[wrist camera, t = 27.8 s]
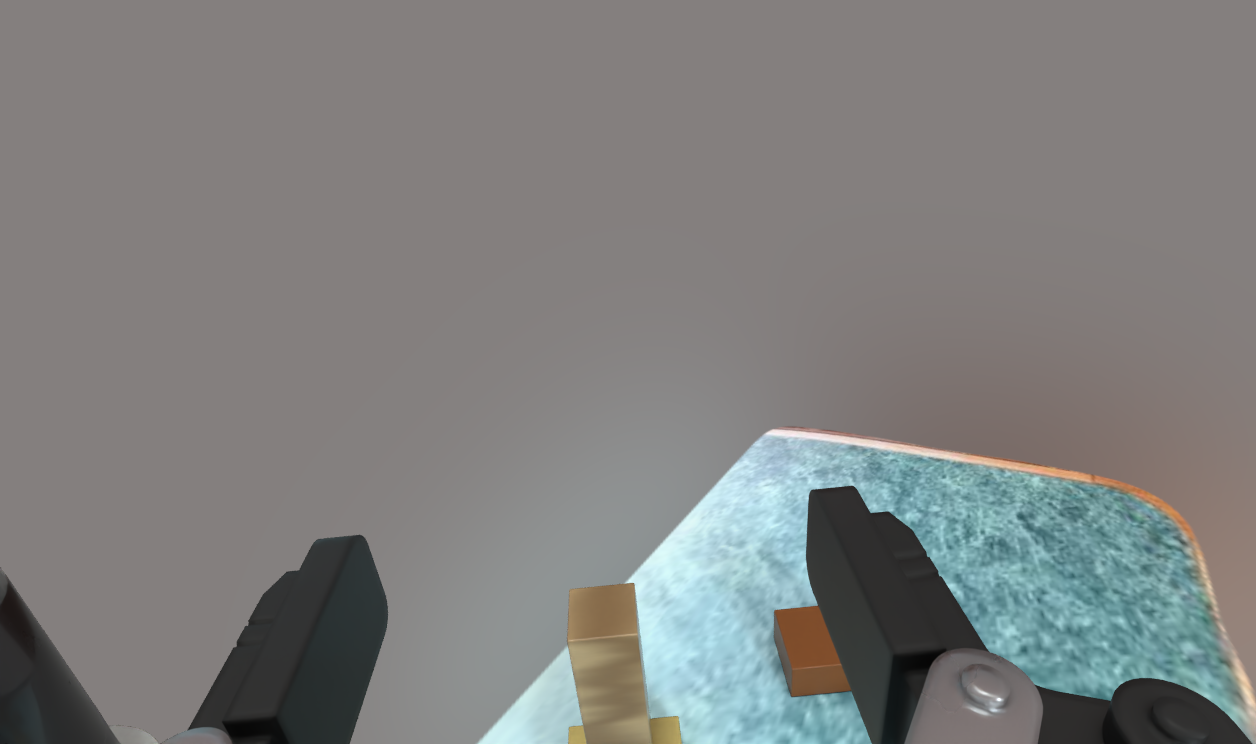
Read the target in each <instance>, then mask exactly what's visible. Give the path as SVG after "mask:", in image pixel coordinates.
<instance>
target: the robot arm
mask: <svg viewBox="0 0 1256 744" xmlns="http://www.w3.org/2000/svg"><path fill="white" fill-rule="evenodd" d="M806 562H807V570H808V576H809V580H810V584H811V588H812V591H813V593H814V596H815V598H816V601H817V604H818V606H819V609H820V611H821V614H822V616H823V619H824V622H825V624H826V627H827V629H828V632H829V634H830V637H831V640H832V642H833V645H834V647H835V650H836V652H837V655H838V658H839V660H840V663H841V665H842V668H843V670H844V673H845V676H846V678H847V681H848V683H849V686H850V688H851V691H852V693H853V696H854V699H855V701H856V704H857V706H858V709H859V711H860V714H861V717H862V719H863V722H864V724H865V727H866V729H867V732H868V735H869V737H870V740H871V742H872V744H1252V743H1251V741H1250V740H1249V739H1248V738H1247V737H1246V735H1245V734H1244V733H1243V732H1242V731H1241V729H1240V728H1239V727H1238V726H1237V725H1236V724H1235V722H1234V721H1233V720H1232V719H1231V718H1230V717H1229V716H1228V715H1227V714H1226V713H1225V712H1224V711H1222V710H1221V709H1220V708H1219V707H1218V706H1216V705H1215V704H1214V703H1212V702H1211V701H1209V700H1208V699H1206V698H1205V697H1203V696H1201V695H1200V694H1198V693H1196V692H1194V691H1192V690H1190V689H1188V688H1186V687H1183V686H1181V685H1178V684H1175V683H1172V682H1168V681H1164V680H1159V679H1152V678H1139V679H1133V680H1129V681H1126V682H1124V683H1123V684H1121V685H1120V686H1119V687H1118V688H1117V689H1116V690H1115V692H1114V694H1113V697H1112V699H1111V701H1108V700H1103V699H1097V698H1091V697H1086V696H1080V695H1074V694H1069V693H1063V692H1058V691H1053V690H1049V689H1046V688H1043V687H1040V686H1037V685H1034V683H1033V682H1032V681H1031V680H1030V678H1029V677H1028V676H1027V675H1026V674H1025V673H1024V672H1023V671H1022V670H1021V669H1019V668H1018V667H1017V666H1015V665H1014V664H1013V663H1011V662H1009V661H1008V660H1006V659H1004V658H1002V657H1000V656H998V655H996V654H993V653H990V652H989V651H988V649H987V648H986V647H985V645H984V644H983V642H982V640H981V639H980V637H979V636H978V634H977V632H976V631H975V629H974V628H973V626H972V624H971V623H970V621H969V620H968V618H967V616H966V615H965V613H964V612H963V610H962V609H961V607H960V605H959V604H958V602H957V601H956V599H955V597H954V596H953V594H952V593H951V591H950V589H949V588H948V586H947V585H946V583H945V581H944V580H943V578H942V577H941V576H940V577H939V574H938V570H937V569H936V567H935V565H934V564H933V562H932V561H931V559H930V557H927V554H926V551H925V549H924V548H923V546H922V545H921V543H920V542H919V540H918V538H917V537H916V535H915V534H914V532H913V530H912V529H910V528H909V527H908V526H906V525H905V524H904V523H903V522H901V521H900V520H899V519H897V518H896V517H895V516H893V515H892V514H891V513H890V512H878V513H870V512H869V510H868V508H867V506H866V504H865V503H864V501H863V499H862V497H861V496H860V494H859V492H858V490H857V489H856V488H855V487H854V486H845V487H835V488H825V489H816V490H811V492H810V494H809V503H808V524H807V546H806ZM387 620H388V606H387V600H386V595H385V592H384V589H383V587H382V584H381V581H380V578H379V575H378V572H377V569H376V566H375V564H374V560H373V558H372V555H371V552H370V549H369V546H368V543H367V541H366V539H365V538H364V537H363V536H362V535H355V536H344V537H335V538H324V539H318V540H316V541H315V542H314V543H313V545H312V546H311V549H310V550H309V552H308V554H307V556H306V558H305V560H304V562H303V564H302V566H301V568H300V570H299V571H290V572H286V573H285V574H284V575H283V576H282V577H281V578H280V579H279V580H278V581H277V582H276V583H275V584H274V585H273V586H272V587H271V588H270V589H269V590H268V591H266V592H265V593H264V594H263V596H262V597H261V599H260V601H259V603H258V604H257V606H256V608H255V610H254V612H253V614H252V615H251V617H250V619H249V625H248V626H245V628H244V630H243V631H242V633H241V635H240V637H239V639H238V640H237V647H235V648H233V650H232V652H231V653H230V655H229V657H228V659H227V661H226V662H225V664H224V666H223V668H222V670H221V671H220V673H219V675H218V677H217V678H216V680H215V682H214V684H213V686H212V687H211V689H210V691H209V693H208V695H207V696H206V698H205V700H204V702H203V704H202V705H201V707H200V709H199V711H198V713H197V714H196V716H195V718H194V720H193V722H192V723H191V725H190V727H189V729H188V730H187V731H184V732H182V733H180V734H177V735H175V736H173V737H171V738H169V739H167V740H166V741H164V742H162V743H161V744H350V741H351V738H352V735H353V732H354V728H355V725H356V722H357V719H358V716H359V713H360V710H361V707H362V704H363V700H364V697H365V694H366V691H367V688H368V685H369V682H370V679H371V676H372V673H373V670H374V667H375V663H376V660H377V657H378V654H379V651H380V648H381V645H382V642H383V639H384V636H385V632H386V628H387ZM0 744H120V742H119V741H118V739H117V738H116V737H115V735H114V734H113V732H112V731H111V729H110V728H109V726H108V725H107V723H106V722H105V720H104V719H103V717H102V715H101V714H100V712H99V711H98V709H97V708H96V706H95V705H94V703H93V702H92V700H91V699H90V698H89V696H88V694H87V693H86V692H85V690H84V689H83V687H82V686H81V684H80V683H79V681H78V680H77V678H76V677H75V675H74V674H73V672H72V671H71V670H70V668H69V667H68V665H67V664H66V662H65V661H64V659H63V658H62V656H61V655H60V654H59V652H58V650H57V649H56V647H55V646H54V645H53V643H52V642H51V640H50V639H49V637H48V636H47V634H46V633H45V631H44V630H43V629H42V627H41V625H40V624H39V623H38V621H37V620H36V618H35V617H34V615H33V614H32V612H31V611H30V609H29V608H28V606H27V605H26V603H25V602H24V601H23V599H22V598H21V596H20V595H19V593H18V592H17V590H16V589H15V588H14V586H13V584H12V583H11V582H10V580H9V579H8V577H7V576H6V575H5V573H4V572H3V571H2V569H1V567H0Z"/></svg>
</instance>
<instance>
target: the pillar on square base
mask: <svg viewBox="0 0 1256 744" xmlns="http://www.w3.org/2000/svg"><path fill="white" fill-rule="evenodd" d="M567 643H568V648H569V654H570V659H571V664H572V670H573V675H574V680H575V685H576V691H577V696H578V701H579V707H580V712H581V717H582V723H583V725H582V726H572V727H569V739H568V744H682V742H681V734H680V726H679V717H678V716H673V717H663V718H653V719H650V712H649V704H648V695H647V686H646V678H645V669H644V661H643V652H642V644H641V635H640V627H639V618H638V610H637V601H636V593H635V584H634V583H627V584H617V585H608V586H598V587H588V588H578V589H570V591H569V612H568V634H567Z"/></svg>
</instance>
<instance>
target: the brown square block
mask: <svg viewBox="0 0 1256 744" xmlns="http://www.w3.org/2000/svg"><path fill="white" fill-rule="evenodd" d="M774 639H775V643H776V646H777V649H778V653H779V656H780V660H781V663H782V667H783V670H784V673H785V677H786V680H787V684H788V687H789V691H790V694H791V696H792V697H794V696H804V695H814V694H824V693H834V692H844V691H851V688H850V686H849V683H848V681H847V678H846V676H845V673H844V670H843V668H842V665H841V663H840V660H839V658H838V655H837V652H836V650H835V647H834V645H833V642H832V640H831V637H830V634H829V632H828V629H827V627H826V624H825V622H824V619H823V616H822V614H821V611H820V609H819V606H811V607H801V608H791V609H781V610H774Z"/></svg>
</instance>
